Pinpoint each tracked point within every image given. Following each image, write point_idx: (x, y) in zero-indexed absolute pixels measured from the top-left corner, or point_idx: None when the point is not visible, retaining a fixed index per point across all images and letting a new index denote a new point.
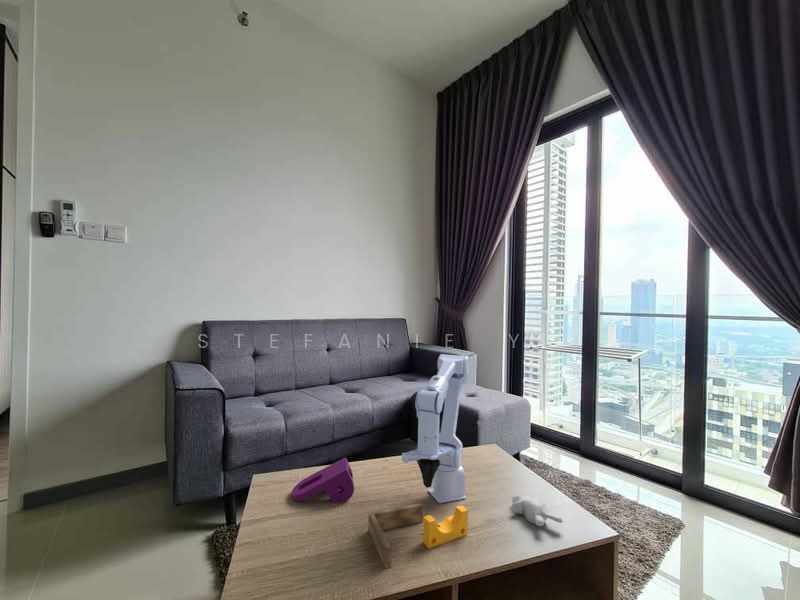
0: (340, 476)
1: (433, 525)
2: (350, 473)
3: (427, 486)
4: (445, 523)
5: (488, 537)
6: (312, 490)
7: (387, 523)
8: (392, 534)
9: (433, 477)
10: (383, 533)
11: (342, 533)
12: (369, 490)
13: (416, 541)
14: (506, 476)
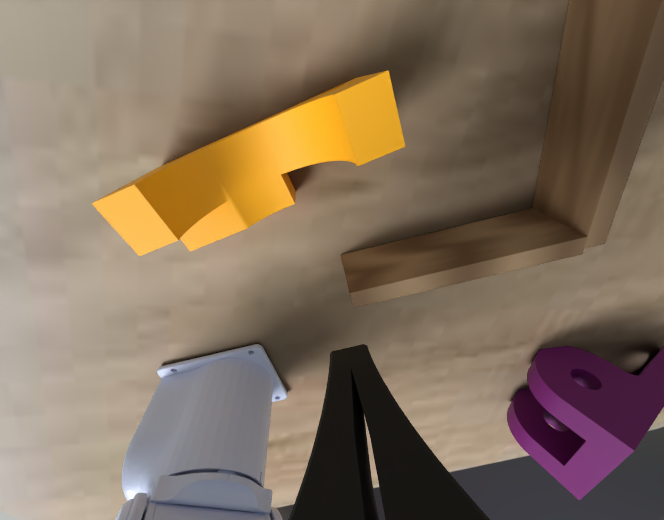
0: (631, 421)
1: (350, 85)
2: (537, 438)
3: (362, 349)
4: (256, 196)
5: (50, 134)
6: None
7: (490, 230)
8: (472, 189)
9: (320, 421)
10: (645, 62)
11: (631, 207)
12: (456, 390)
13: None
14: (12, 459)
